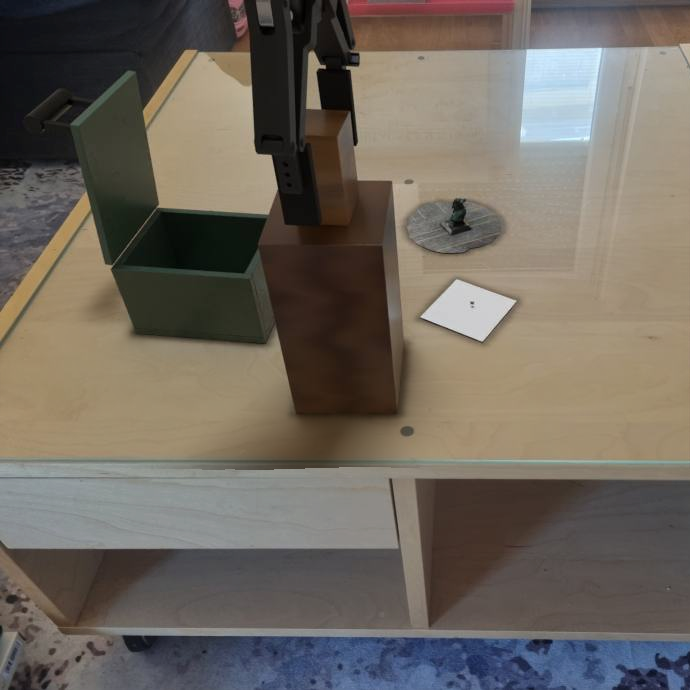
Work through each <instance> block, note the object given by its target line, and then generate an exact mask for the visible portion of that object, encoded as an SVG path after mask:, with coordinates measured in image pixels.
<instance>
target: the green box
mask: <svg viewBox="0 0 690 690" xmlns="http://www.w3.org/2000/svg"><path fill="white" fill-rule="evenodd" d="M268 215H269V213H268V214H265V213H250V212H236V211H235V212H234V211H219V210H204V209H188V208H187V209H186V208H173V207H172V208H171V207H157V208H156V209H155V210H154V212H153V213H152V214H151V216H150V217H149V218H148V220H147V221H146V222H145V223H144V225H143V226H142V227H141V229H140V230H139V231H138V233H137V234H136V235H135V237H134V238H133V239H132V241H131V242H130V243H129V245H128V246H127V247H126V248H125V250H124V251H123V252H122V254H121V255H120V256H119V258H118V259H117V260H116V262H115V263H114V264H113V265H111V267H110V271H111V274H112V277H113V279H114V281H115V284H116V286H117V289H118V291H119V294H120V297H121V299H122V302H123V304H124V306H125V309H126V311H127V314H128V316H129V319H130V322H131V324H132V327H133V329H134V331H135V334H140V335H141V334H142V335H154V336H163V337H164V336H165V337H179V338H191V339H202V340H203V339H205V340H217V341H229V342H230V341H231V342H239V343H240V342H243V343H253V344H266V343H267V340H268V339H269V336H270V334H271V332H272V329H273V327H274V325H275V320H274V315H273V311H272V306H271V302H270V298H269V293H268V289H267V284H266V280H265V275H264V271H263V267H262V262H261V258H260V253H259V249H258V242H259V240H260V237H261V234H262V231H263V228H264V226H265V223H266V220H267V217H268Z"/></svg>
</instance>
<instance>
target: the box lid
mask: <svg viewBox="0 0 690 690" xmlns="http://www.w3.org/2000/svg"><path fill="white" fill-rule="evenodd" d="M72 107H76V108H81V109H82V108H83V109H85V110H84V111H82V113H81V114H80V115H78V116H77V117H76V118H75V119H73V121H72V122H71V123H67V122H61V121H57V120H58V119H59V118H60V117H61V116H62V115H64V114H65V113H66V112H67V111H68V110H69V109H70V108H72ZM144 116H145V115H144V111H143V105H142V99H141V92H140V87H139V82H138V76H137V71H133V70H127V71H125V73H124V74H123V75H121V77H120V78H118V79H117V80H116V81H115V82H114V83H112V85H111V86H110V87H109V88H107V89H106V91H105V92H103V93H102V94H101V95H100V96H99V97H98V98H96V99H92V98H85V97H79V96H74V95H73V94H72V92H71V91H70V90H68V89H66V88H58V89H56V90H55V91H54V92H53V93H52V94H51V95H49V97H47V98H46V99H44V100H43V101H42V102H41V103H40V104H38V105H37V106H36V107H35V108H34V109H33V110H32V111H30V112H29V113H28V114H27V115H25V116H24V117H23V121H22V122H23V126H24V127H25V129H26V131H28V132H30V133H31V134H34V135H40V134H42V133H43V132H45V130H46V131H51V132H57V133H63V134H64V133H65V134H69V135H72V138H73V142H74V146H75V151H76V154H77V159H78V163H79V166H80V170H81V175H82V178H83V183H84V187H85V189H86V190H85V191H86V195H87V198H88V202H89V206H90V210H91V214H92V218H93V222H94V226H95V230H96V234H97V238H98V243H99V246H100V250H101V254H102V258H103V263H104V264H105V265H106V266H113V265H114V264H115V262H116V261H117V260H118V258H119V257H120V256H121V255H122V253H123V252H124V251H125V249H126V248H127V247H128V245H129V244H130V243H131V241H132V240H133V239H134V237H135V236H136V235H137V233H138V232H139V231H140V230H141V228H142V227H143V226H144V224H145V223H146V222H147V220H148V219H149V218H150V216H151V215H152V214H153V212H154V211H155V210H156V209H157V208H158V207H159V205H160V201H159V194H158V190H157V184H156V179H155V173H154V167H153V162H152V156H151V150H150V145H149V137H148V133H147V132H148V131H147V128H146V127H147V126H146V121H145V117H144Z"/></svg>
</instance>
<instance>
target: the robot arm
mask: <svg viewBox="0 0 690 690" xmlns="http://www.w3.org/2000/svg"><path fill="white" fill-rule="evenodd" d="M243 3H244V5H243V6H244V11H245V15H246V21H247V22H246V23H247V28H248V38H249V57H250V78H251V97H252V98H251V100H252V117H253V119H252V121H253V137H254V138H253V144H254V151H255V153H256V154H257V155H264V156H271V159H272V165H273V172H274V174H275V180H276V187H277V190H278V192H279V197H280V202H281V207H282V213H283V218H284V223H285V225H294V226H310V227H320V226H321V223H322V216H321V210H320V203H319V196H318V190H317V183H316V177H315V170H314V163H313V157H312V150H311V143H305V124H306V109H307V100H308V97H307V96H308V95H307V94H308V77H309V54H310V52H311V51H313V52H314V54H315V57H316V59H317V61H318V63H319V65H320V66H324V68H322V67H318V68H317V69H316V72H315V74H316V80H317V81H316V82H317V88H318V95H319V103H320V109H322V110H341V111H350V115H351V124H352V134H353V143H354V147H357V146H358V144H359V138H358V128H357V119H356V109H355V101H354V90H353V81H352V71H351V70H352V69H347V67H354V68H359V67H360V64H361V54H360V52H359V51H357V52H356V51H354V50H355V48H356V44H357V43H356V39H355V34H354V29H353V25H352V21H351V16H350V12H349V7H348V3H347V0H243Z"/></svg>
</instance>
